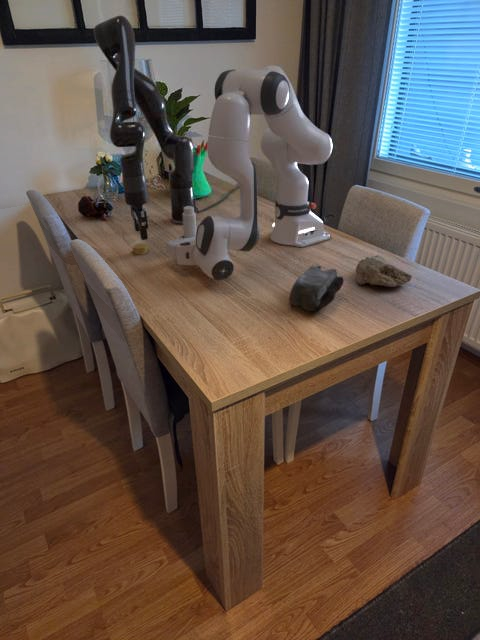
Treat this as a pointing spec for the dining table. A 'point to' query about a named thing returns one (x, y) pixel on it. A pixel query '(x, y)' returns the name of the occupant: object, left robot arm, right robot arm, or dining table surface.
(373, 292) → the dining table surface
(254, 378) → the dining table surface
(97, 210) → the toy
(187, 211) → the white tall cylinder
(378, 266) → the artifact
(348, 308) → the dining table surface
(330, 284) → the rock
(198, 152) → the toy
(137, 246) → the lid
